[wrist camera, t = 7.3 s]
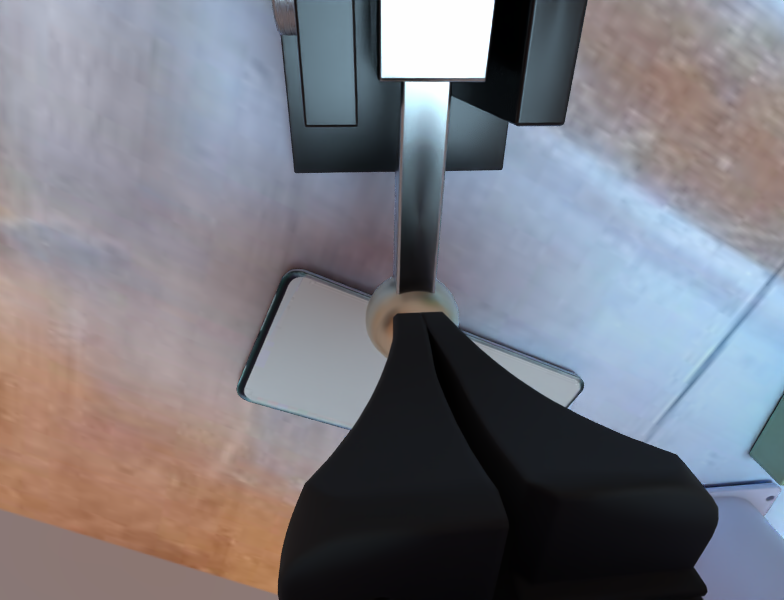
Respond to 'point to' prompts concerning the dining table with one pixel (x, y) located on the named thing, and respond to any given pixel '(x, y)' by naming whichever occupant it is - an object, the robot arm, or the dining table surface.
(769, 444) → the control block
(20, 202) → the dining table surface
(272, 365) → the smartphone
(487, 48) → the switch lever
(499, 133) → the switch bracket
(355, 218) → the dining table surface
